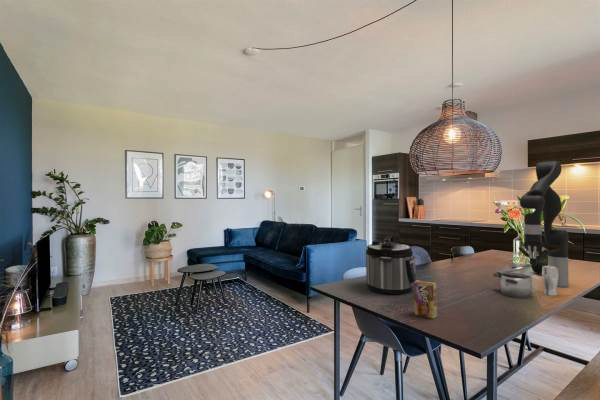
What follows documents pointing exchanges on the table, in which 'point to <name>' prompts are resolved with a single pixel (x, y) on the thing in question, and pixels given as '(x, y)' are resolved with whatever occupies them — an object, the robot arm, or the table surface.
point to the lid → (514, 268)
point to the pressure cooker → (390, 267)
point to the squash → (540, 264)
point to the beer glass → (550, 280)
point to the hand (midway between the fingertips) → (533, 265)
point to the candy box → (425, 299)
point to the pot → (515, 284)
